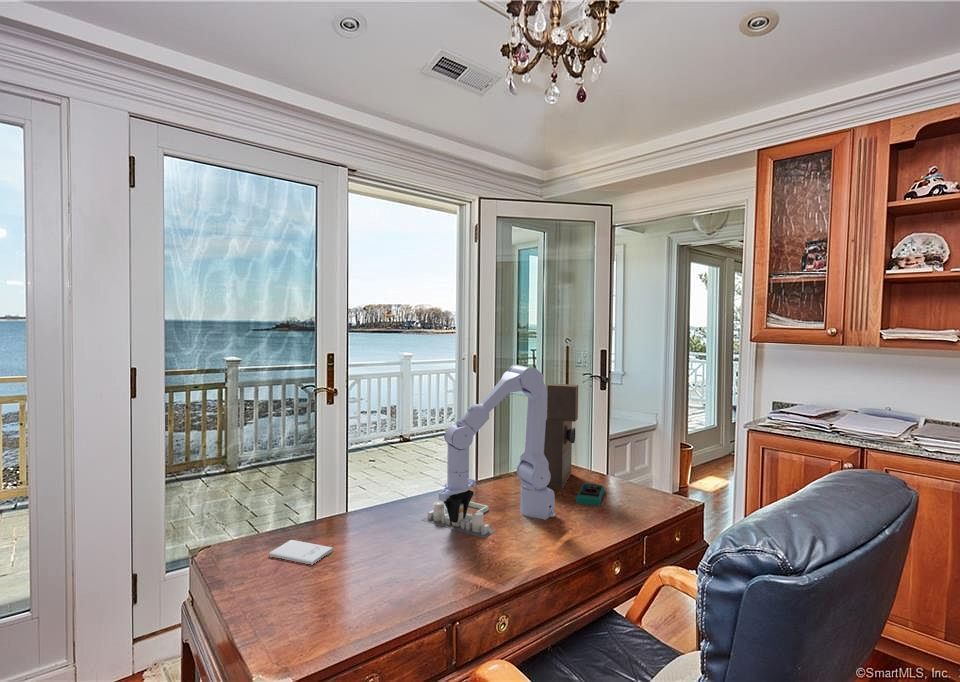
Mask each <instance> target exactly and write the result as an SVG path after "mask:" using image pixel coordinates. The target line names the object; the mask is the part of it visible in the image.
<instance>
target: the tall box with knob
mask: <svg viewBox="0 0 960 682" xmlns="http://www.w3.org/2000/svg"><path fill="white" fill-rule="evenodd" d="M546 390H547V394H548V395H547V410H546V426H545V441H544V455H545V457H546V459H547V461H548V463H549V466H548V467H549V471H550V475H551V478H550V482H549V484H548V485H547V486H546V487H547V488H549V489H552V488H553V489H554V490H560V489H562V488H563V489H564V487H565V486H564V485H566V484H567V482H568V481H569V479H570V477H571V476H572V474H571V473H572V472H573V470H572V450H573V449H572V445H573V444H575V441H576V428H575V427H573V422H576V421H577V420H578V418H579V384H570V383H569V384H567V383H565V384H564V383H549V384H547V388H546ZM570 475H571V476H570ZM568 478H569V479H568ZM567 480H568V481H567ZM565 483H566V484H565ZM553 489H552V490H553ZM563 489H562V490H563Z"/></svg>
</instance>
